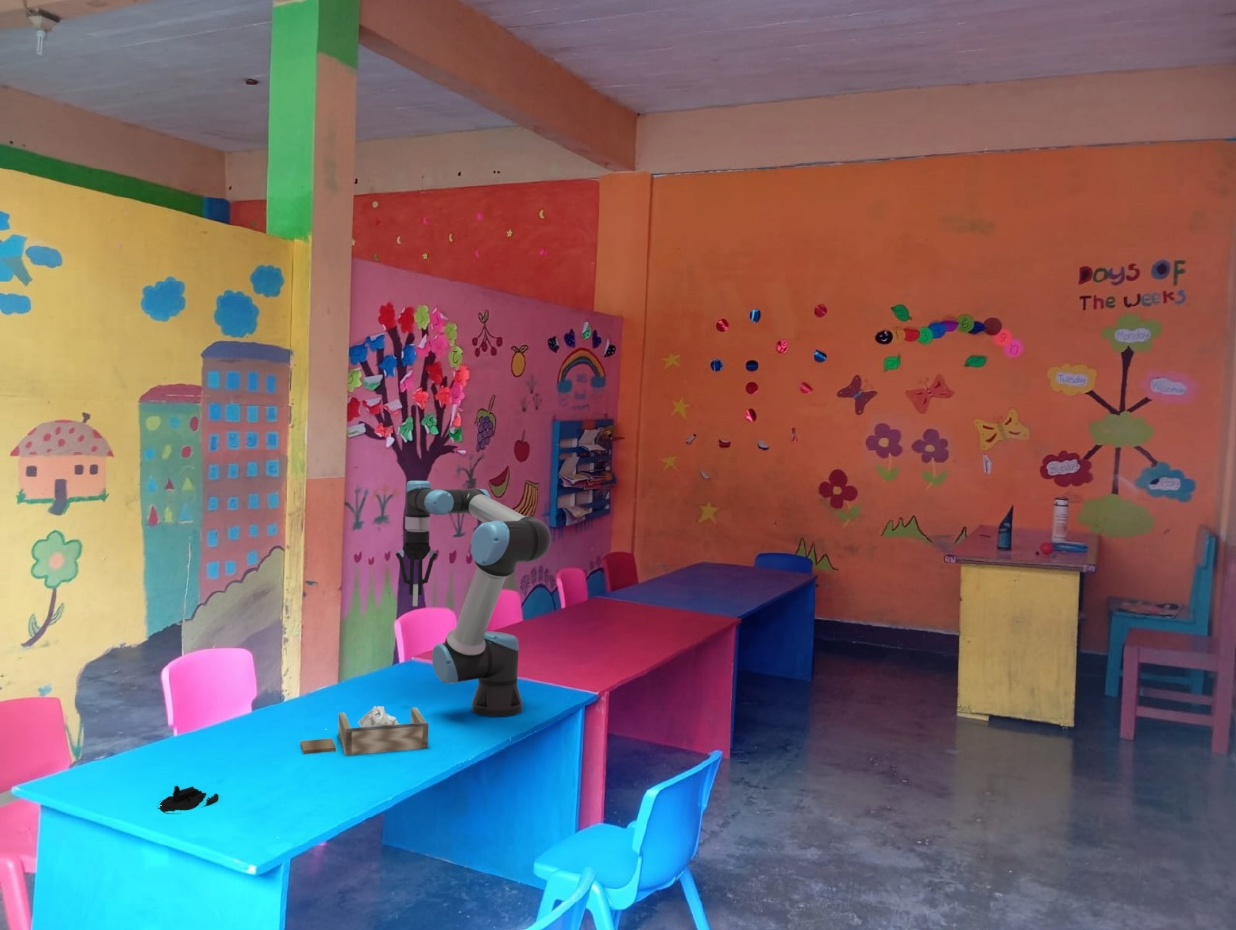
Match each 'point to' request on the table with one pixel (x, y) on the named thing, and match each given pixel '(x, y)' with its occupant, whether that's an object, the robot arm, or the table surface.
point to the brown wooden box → (384, 736)
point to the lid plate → (317, 746)
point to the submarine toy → (185, 800)
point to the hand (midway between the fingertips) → (415, 605)
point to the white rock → (377, 718)
